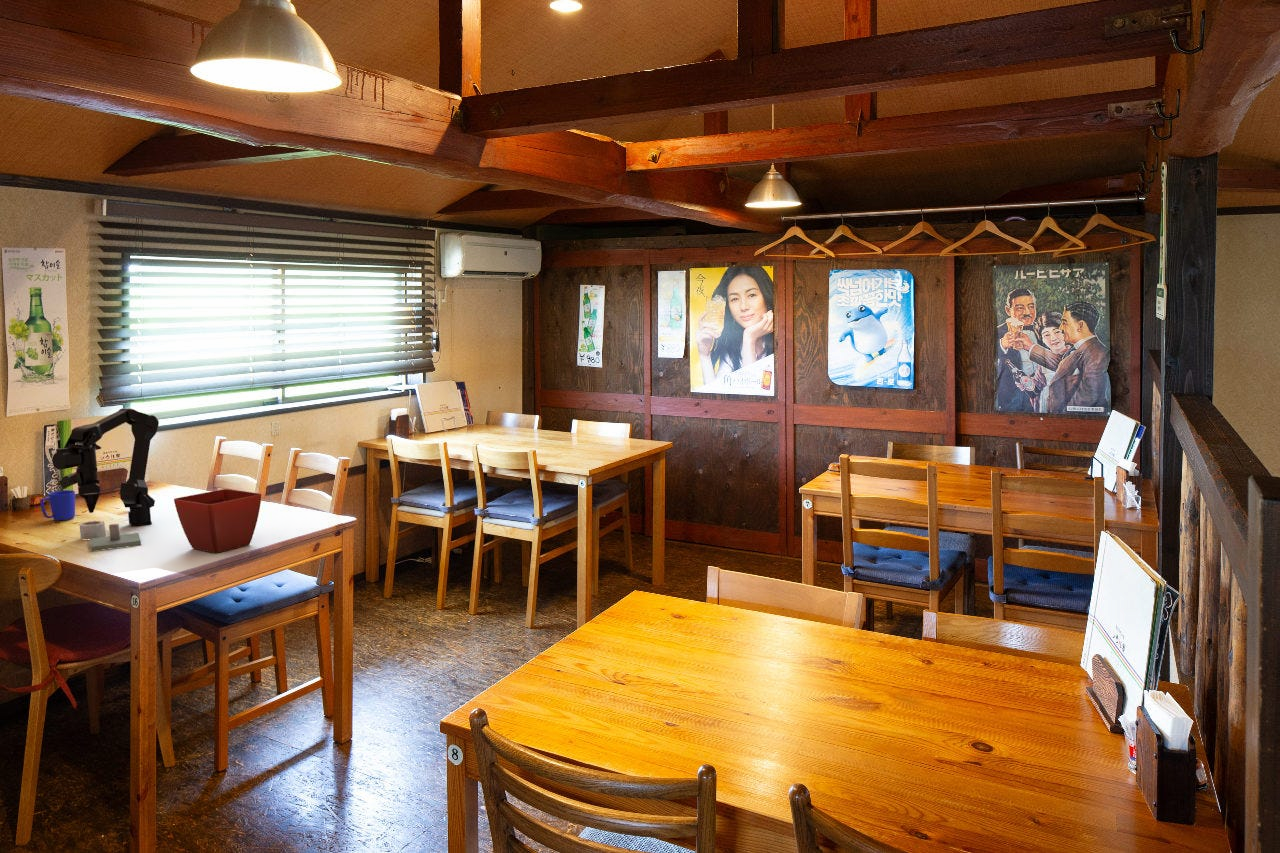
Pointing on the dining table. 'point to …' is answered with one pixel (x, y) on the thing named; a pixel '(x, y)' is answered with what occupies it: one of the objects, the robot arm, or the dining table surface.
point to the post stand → (115, 539)
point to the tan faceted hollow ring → (92, 529)
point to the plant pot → (219, 519)
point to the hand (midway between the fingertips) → (91, 510)
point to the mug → (60, 505)
